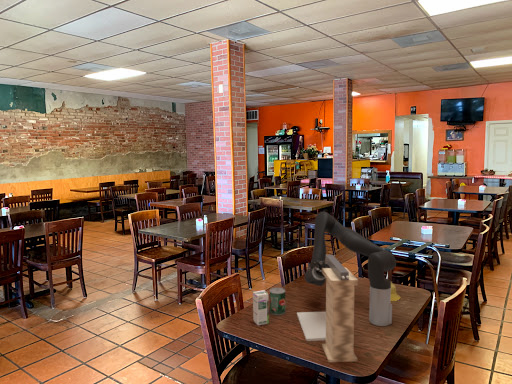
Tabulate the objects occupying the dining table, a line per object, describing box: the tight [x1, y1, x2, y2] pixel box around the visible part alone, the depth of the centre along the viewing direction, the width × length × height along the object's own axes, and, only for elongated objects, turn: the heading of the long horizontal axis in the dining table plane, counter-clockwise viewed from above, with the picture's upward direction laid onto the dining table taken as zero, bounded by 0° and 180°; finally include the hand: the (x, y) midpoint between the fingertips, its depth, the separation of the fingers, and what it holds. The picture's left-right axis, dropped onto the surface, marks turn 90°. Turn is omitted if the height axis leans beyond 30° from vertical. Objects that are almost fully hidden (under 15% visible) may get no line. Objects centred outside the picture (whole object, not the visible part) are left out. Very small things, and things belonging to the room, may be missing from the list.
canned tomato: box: [269, 287, 287, 316], centre depth 187 cm, size 8×8×11 cm
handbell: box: [386, 251, 401, 301], centre depth 202 cm, size 12×12×25 cm
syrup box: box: [252, 289, 270, 326], centre depth 175 cm, size 6×6×14 cm
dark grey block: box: [325, 254, 349, 280], centre depth 149 cm, size 3×26×3 cm, turn 3°
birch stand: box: [321, 267, 359, 363], centre depth 147 cm, size 11×15×32 cm
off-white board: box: [296, 311, 326, 342], centre depth 171 cm, size 18×26×1 cm
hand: (328, 262), depth 163 cm, fingers open, 8 cm apart
